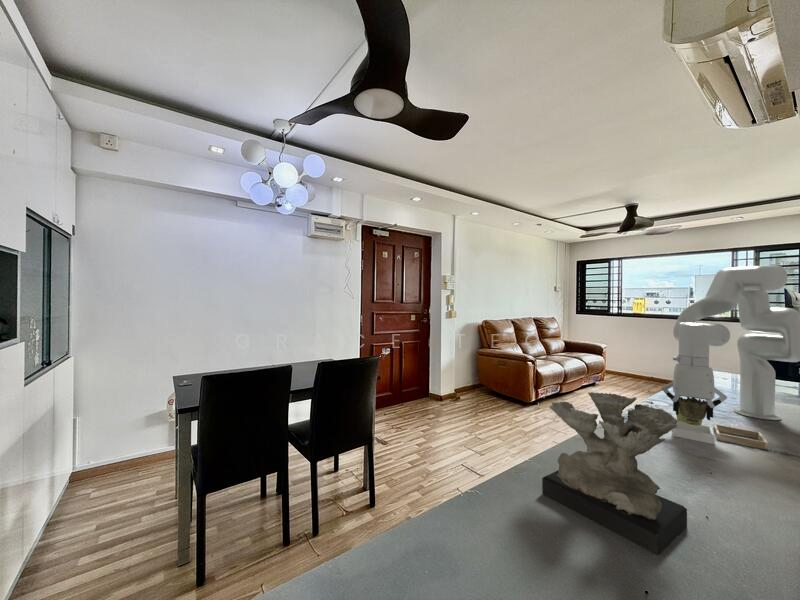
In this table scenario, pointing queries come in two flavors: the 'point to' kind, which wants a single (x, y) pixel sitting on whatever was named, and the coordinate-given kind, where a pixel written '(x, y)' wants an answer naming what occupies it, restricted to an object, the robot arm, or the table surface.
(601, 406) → the coral
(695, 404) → the cup
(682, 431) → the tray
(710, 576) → the table surface
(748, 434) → the birch frame
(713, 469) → the table surface
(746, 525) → the table surface
